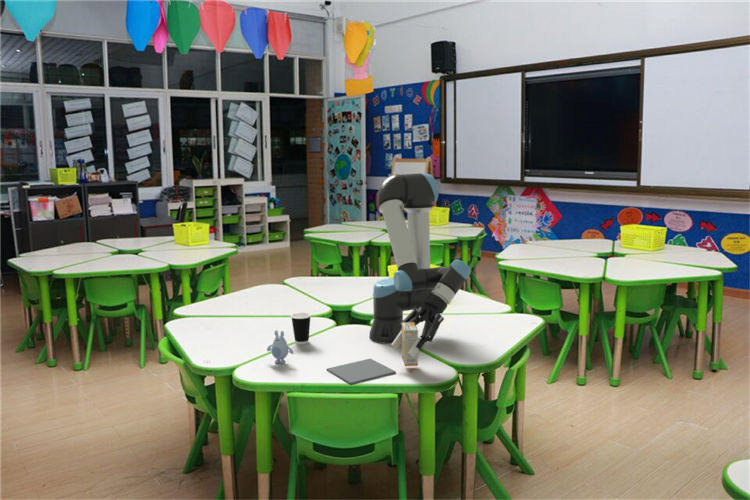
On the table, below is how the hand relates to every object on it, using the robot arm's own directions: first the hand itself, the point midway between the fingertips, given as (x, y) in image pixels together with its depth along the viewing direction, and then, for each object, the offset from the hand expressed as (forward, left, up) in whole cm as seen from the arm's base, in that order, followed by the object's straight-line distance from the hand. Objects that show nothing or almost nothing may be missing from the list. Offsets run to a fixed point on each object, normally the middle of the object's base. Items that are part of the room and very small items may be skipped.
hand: (402, 351), depth 221 cm
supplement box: (-3, 0, -5) cm, 6 cm away
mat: (+12, -8, -7) cm, 16 cm away
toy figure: (+31, -32, -7) cm, 45 cm away
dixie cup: (+14, -49, -7) cm, 51 cm away
